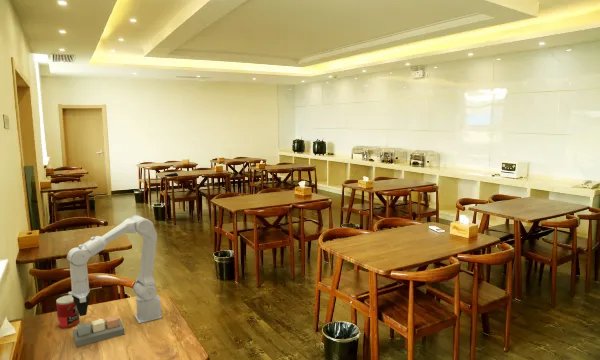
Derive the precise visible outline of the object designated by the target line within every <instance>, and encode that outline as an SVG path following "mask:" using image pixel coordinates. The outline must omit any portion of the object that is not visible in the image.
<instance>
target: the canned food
mask: <svg viewBox="0 0 600 360" xmlns="http://www.w3.org/2000/svg"><path fill="white" fill-rule="evenodd" d="M73 299H74V298H73V297H72V295H69V294H68V295H63V296H61V297H59V298H57V299H56V300H55V301H56V302H55V303H56V304H55V305H56V313H57V316H56V317H57V324H58V327H59V328H62V329H70V328H73V327H76V326H77V325H78V324H80V320H81V319H80V315H79V312H78V308H77V306H76V304H75V303H74V301H73Z"/></svg>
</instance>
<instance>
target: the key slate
mask: <svg viewBox="0 0 600 360" xmlns="http://www.w3.org/2000/svg"><path fill="white" fill-rule="evenodd" d="M76 326H77V328H76V329H78V335H79V336H83V335H87V334H91V332H90V322H89V321H88V322H87V321H86V322H83V323H78V324H77V325H76Z"/></svg>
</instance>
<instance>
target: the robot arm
mask: <svg viewBox="0 0 600 360" xmlns="http://www.w3.org/2000/svg"><path fill="white" fill-rule="evenodd" d="M136 233H138V234H139V236H140V237H142V238H143V239H142V246H141V257H140V265H139V274H138V276H137V277H136V279H135V280H136V281H135V283H134V284H133V286H132V287H133V288H132V289H133V293H134V294H136V297H135V300H136V301H135V303H136V304H135V305H136V314H134V318H135V319H136V321H137V323H138V324H143V323H147V322H150V321H154V320H158V319H162V305H161V303H162V302H161V298H160V295H159V294H157V288H156V280H155V278H154V269H155V262H156V261H155V260H156V250H157V242H158V241H157V240H158V232H157V230H156V229H155V227H154V223H153V222H152V221H151V220H150V219H148V218H146V217H145V218H144V217H142V216H140V215H138V214H134V215H132V216H130V217H128V218H125V220H124V221H122V222H121V223H120V224H118V225H117V226H115V227H114V228H112V229H111V230H109V231H108V232H106V233H105V234H103V235H102V236H100V235H96V236H91V237H90V239H89V240H87V241H86V242H84V243H83V244H79V245H78V247H73V248H71V249H70V250H69V251H68V252H67V255H66V259H67V260H68V261H69V275H70V282H71V283H70V284H71V291H68V295H72V297H73V298H74V299H73V301H74V303H75V304H76V306H77V308H78V312H79V317H83V316H87V312H88V305H89V303H90V300H91V296H89V294H90V291H91V289H90V286H89V285H90V284H89V282H90V281H89V273H88V261H89V259H90V258H92V257H94V256H95V255H96V254H98V253H100V252H102V251H103V250H105V249H106V248H107V244H109V243H110V242H112V241H115V240H116V239H117V238H120V237H121V236H123V235H125V234H136Z"/></svg>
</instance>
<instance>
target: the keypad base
mask: <svg viewBox="0 0 600 360" xmlns="http://www.w3.org/2000/svg"><path fill="white" fill-rule="evenodd" d="M117 318H118V324H119V326H118V327H114V328H110V329H107V326H106V321H104V325H105V330H102V331H98V332H95V333H93V329H92V324H91V325H90V332H91V334H87V335H83V336H79V335H78V329H77V328H74V329H72V337H73V341H74V347H75V348H79V347H83V346H87V345H90V344H93V343H94V344H95V343H98V342H101V341H106V340H109V339H113V338H117V337H120V336H124V335H125V327H124V325H123V323H122V320H121V318H120V317H117Z"/></svg>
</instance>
